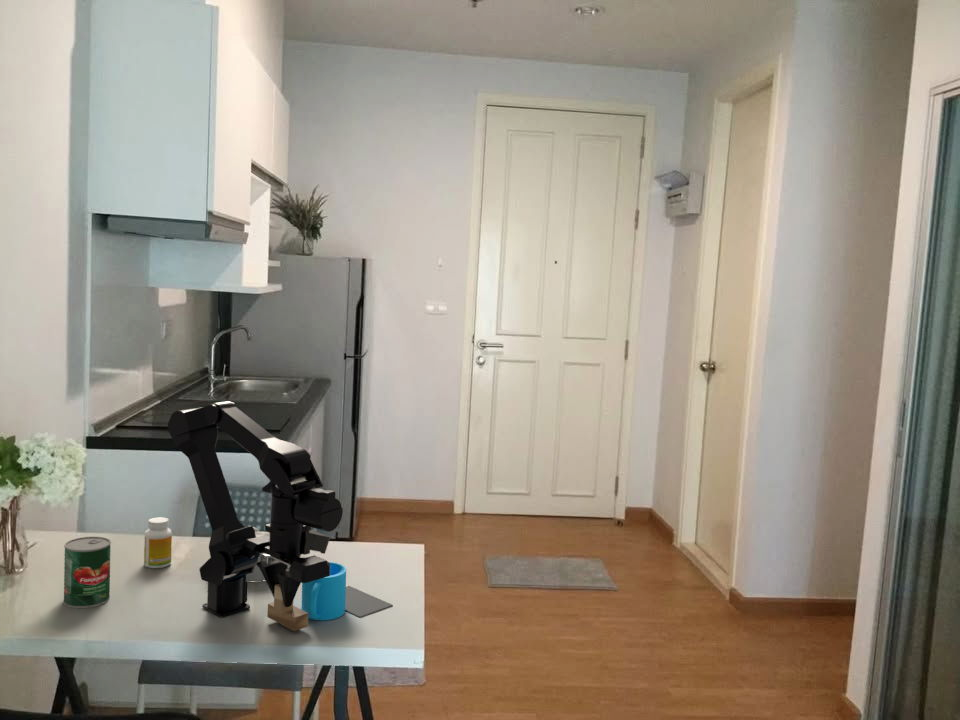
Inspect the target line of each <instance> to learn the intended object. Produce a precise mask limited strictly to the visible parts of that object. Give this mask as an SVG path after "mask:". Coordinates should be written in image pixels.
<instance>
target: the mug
mask: <svg viewBox="0 0 960 720" xmlns="http://www.w3.org/2000/svg"><path fill="white" fill-rule="evenodd" d="M328 562H329V563H330V576H328V577H325V578H321V579H318V580H314V581H311V582H307V583H301V610H303V611H305V612H307V613H308V620H314V621H331V620H334V619H338V618H340V617H341V616H343V615H344V614H345V613H346V611H345V599H346V587H347V567H346V565H343V564H342V563H338V562H333V561H328Z"/></svg>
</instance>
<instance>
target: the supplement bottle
mask: <svg viewBox="0 0 960 720" xmlns="http://www.w3.org/2000/svg"><path fill="white" fill-rule="evenodd" d="M147 525H148V529H146V531H145V532H144V543H143V545H144V547H143V550H144V551H143V556H144V557H143V564H144V566H145V567H146V568H149V569H163V568H166V567H169V566H170V565H171V563H172V543H173V542H172V536H173V532H172V530H171V528H169V526H170V525H169V518H167V517H160V516H158V517H153V518H150V519H148V523H147Z"/></svg>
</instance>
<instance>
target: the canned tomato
mask: <svg viewBox="0 0 960 720" xmlns="http://www.w3.org/2000/svg"><path fill="white" fill-rule="evenodd" d="M111 543H112V541H111V540H110V539H109V538H107V537H103V536H82V537H78V538H73V539H70V540H68V541H67V542H65V543H64V560H63V561H64V563H63V564H64V565H63V566H64V567H63V569H64V571H63V573H64V575H63V577H64V578H63V582H64V583H63V604H64V605H65V606H66V607H69V608H74V609H89V608H94V607H98V606H101V605H103V604H105V603H107V602H108V601H109V600H110V597H111V596H110V589H111V588H110V587H111V585H110V584H111Z"/></svg>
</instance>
